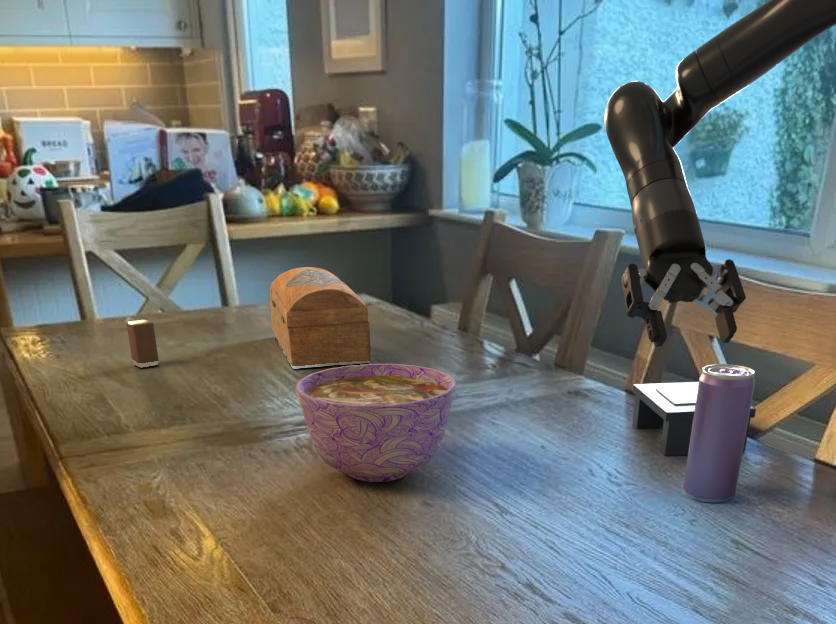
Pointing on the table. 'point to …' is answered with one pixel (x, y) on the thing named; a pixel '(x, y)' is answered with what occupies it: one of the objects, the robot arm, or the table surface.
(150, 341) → the wooden block
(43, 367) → the table surface
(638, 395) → the dark footstool
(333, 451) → the bowl of food
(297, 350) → the wooden box
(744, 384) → the beverage can
